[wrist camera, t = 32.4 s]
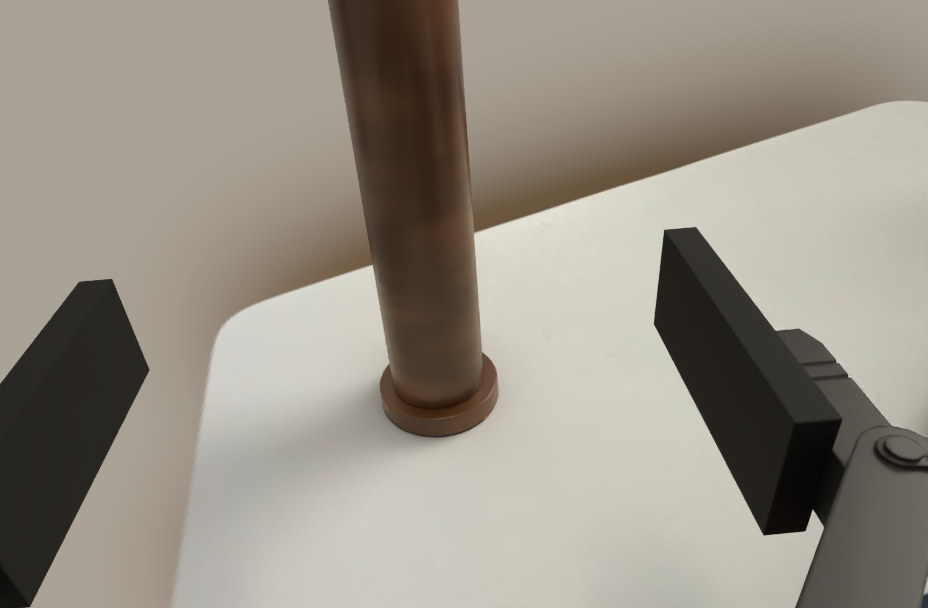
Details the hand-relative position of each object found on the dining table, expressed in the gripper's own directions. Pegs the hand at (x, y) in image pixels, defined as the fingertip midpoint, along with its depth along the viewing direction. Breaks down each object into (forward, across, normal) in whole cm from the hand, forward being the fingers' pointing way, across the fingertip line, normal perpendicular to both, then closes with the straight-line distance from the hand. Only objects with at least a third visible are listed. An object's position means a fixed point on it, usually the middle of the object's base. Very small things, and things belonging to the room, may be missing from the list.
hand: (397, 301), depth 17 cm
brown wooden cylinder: (+9, 0, -11) cm, 15 cm away
